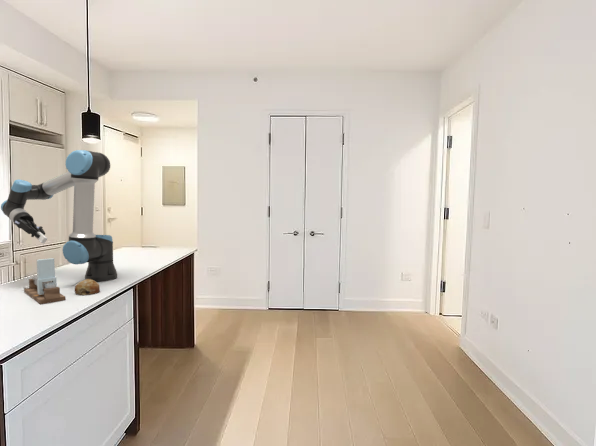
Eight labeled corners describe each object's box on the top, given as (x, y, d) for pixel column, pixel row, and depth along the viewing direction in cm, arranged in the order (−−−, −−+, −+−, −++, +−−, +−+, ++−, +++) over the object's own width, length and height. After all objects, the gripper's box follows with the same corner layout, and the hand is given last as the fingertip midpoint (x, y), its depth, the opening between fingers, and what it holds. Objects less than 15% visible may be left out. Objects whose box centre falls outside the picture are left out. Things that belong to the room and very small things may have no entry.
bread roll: (74, 303, 173) (73, 289, 169) (75, 289, 181) (74, 275, 177) (100, 300, 178) (99, 286, 174) (99, 286, 186) (99, 273, 182)
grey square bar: (32, 283, 179) (31, 275, 179) (40, 281, 181) (40, 274, 181) (47, 293, 162) (46, 285, 161) (56, 291, 164) (56, 283, 164)
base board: (24, 291, 178) (23, 279, 178) (47, 288, 185) (46, 276, 184) (40, 304, 159) (39, 291, 158) (65, 300, 165) (65, 287, 165)
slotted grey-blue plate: (37, 293, 166) (36, 259, 165) (54, 291, 171) (53, 258, 170) (39, 295, 164) (37, 260, 163) (56, 292, 169) (55, 258, 168)
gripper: (30, 229, 197) (52, 251, 186) (3, 221, 185) (25, 244, 174) (39, 216, 197) (61, 237, 186) (12, 207, 186) (35, 229, 175)
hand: (44, 240), depth 180 cm, fingers closed
